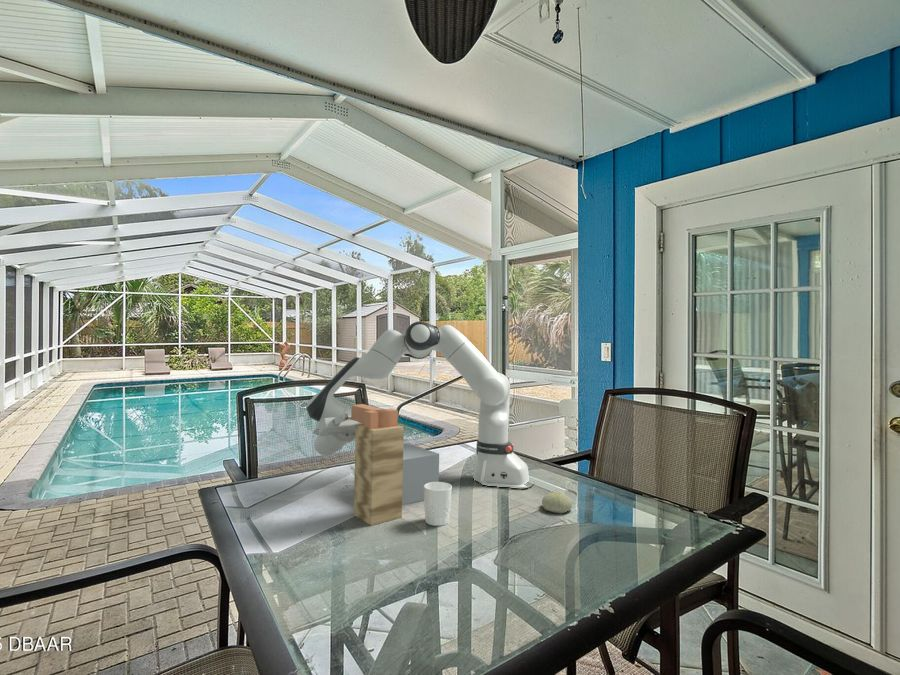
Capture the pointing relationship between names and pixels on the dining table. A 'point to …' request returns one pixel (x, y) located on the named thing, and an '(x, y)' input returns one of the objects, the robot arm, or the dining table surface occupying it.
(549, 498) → the sea urchin shell
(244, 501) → the dining table surface
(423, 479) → the low block
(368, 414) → the terracotta notched block
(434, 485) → the white cup
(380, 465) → the pedestal
